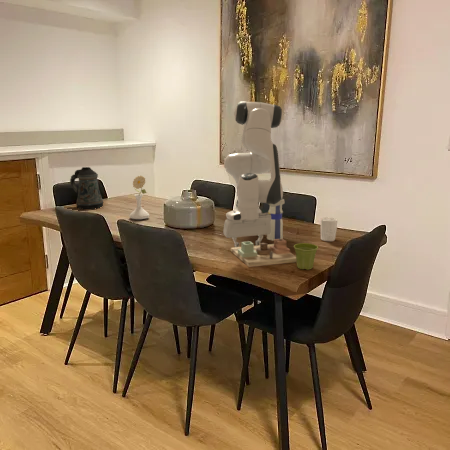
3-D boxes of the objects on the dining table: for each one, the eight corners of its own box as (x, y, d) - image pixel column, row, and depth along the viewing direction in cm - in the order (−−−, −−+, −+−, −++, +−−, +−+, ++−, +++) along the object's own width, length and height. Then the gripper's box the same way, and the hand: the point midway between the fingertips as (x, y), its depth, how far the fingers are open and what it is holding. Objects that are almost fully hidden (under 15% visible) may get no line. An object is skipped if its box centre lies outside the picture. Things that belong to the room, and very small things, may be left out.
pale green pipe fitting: (237, 252, 194) (237, 241, 193) (251, 251, 196) (251, 240, 194) (242, 257, 188) (243, 245, 187) (257, 255, 190) (257, 244, 189)
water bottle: (269, 241, 216) (271, 189, 210) (263, 236, 224) (264, 186, 218) (285, 240, 218) (288, 188, 212) (279, 235, 226) (281, 185, 220)
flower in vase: (125, 218, 260) (123, 174, 254) (142, 215, 268) (141, 172, 262) (137, 222, 251) (135, 177, 245) (155, 219, 258) (153, 175, 252)
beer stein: (103, 209, 284) (101, 168, 278) (71, 210, 279) (67, 169, 273) (103, 203, 300) (101, 165, 294) (72, 205, 295) (69, 166, 289)
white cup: (338, 238, 222) (339, 218, 219) (333, 242, 215) (334, 222, 213) (322, 236, 226) (323, 216, 223) (317, 240, 219) (318, 219, 217)
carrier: (230, 251, 201) (230, 235, 199) (276, 246, 208) (276, 232, 206) (248, 266, 181) (249, 250, 179) (298, 261, 188) (299, 245, 186)
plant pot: (305, 273, 175) (306, 251, 172) (287, 266, 182) (288, 245, 180) (321, 268, 180) (323, 247, 178) (304, 262, 187) (305, 241, 185)
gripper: (268, 210, 194) (267, 241, 197) (222, 213, 187) (222, 245, 191) (274, 213, 188) (273, 245, 191) (227, 216, 181) (227, 250, 185)
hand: (247, 245), depth 191 cm, fingers open, 8 cm apart
